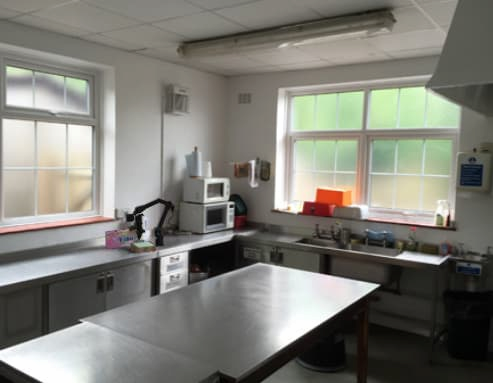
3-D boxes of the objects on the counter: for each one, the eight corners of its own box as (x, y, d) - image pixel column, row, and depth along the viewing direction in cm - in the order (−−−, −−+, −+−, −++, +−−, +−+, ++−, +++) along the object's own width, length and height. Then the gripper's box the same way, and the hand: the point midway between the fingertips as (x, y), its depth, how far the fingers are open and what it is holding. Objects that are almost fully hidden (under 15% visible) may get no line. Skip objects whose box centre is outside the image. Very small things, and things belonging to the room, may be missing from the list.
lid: (147, 242, 368) (147, 239, 368) (154, 246, 352) (154, 243, 352) (132, 243, 362) (132, 240, 362) (138, 247, 346) (137, 244, 346)
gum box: (131, 243, 383) (130, 227, 382) (135, 244, 378) (135, 229, 376) (105, 247, 366) (104, 231, 365) (109, 249, 361) (109, 232, 360)
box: (149, 246, 369) (149, 240, 369) (156, 251, 353) (156, 244, 353) (130, 248, 362) (130, 242, 361) (136, 253, 346) (135, 246, 345)
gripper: (126, 220, 371) (126, 239, 373) (131, 223, 355) (131, 242, 356) (139, 219, 377) (139, 237, 378) (145, 222, 360) (145, 241, 361)
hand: (138, 240), depth 368 cm, fingers closed
